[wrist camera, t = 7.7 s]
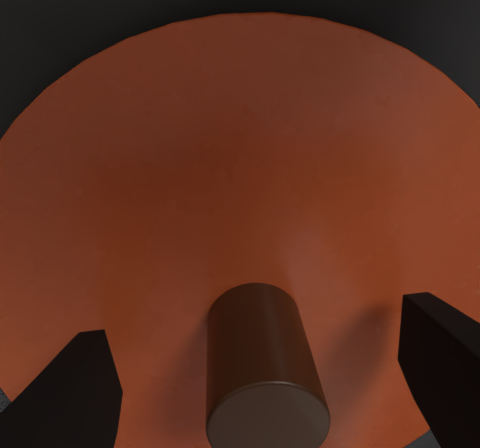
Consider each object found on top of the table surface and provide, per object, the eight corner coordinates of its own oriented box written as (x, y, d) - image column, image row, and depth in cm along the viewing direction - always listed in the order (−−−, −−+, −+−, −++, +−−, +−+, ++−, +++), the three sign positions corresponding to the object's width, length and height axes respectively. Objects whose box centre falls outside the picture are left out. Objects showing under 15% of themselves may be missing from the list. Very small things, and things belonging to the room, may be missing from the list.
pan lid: (568, 329, 13) (722, 460, 9) (204, 516, 16) (201, 675, 12) (345, -157, 8) (483, -352, 4) (-141, 254, 11) (-351, 388, 7)
